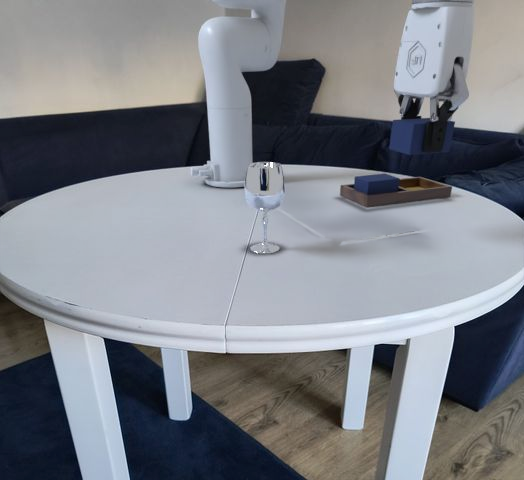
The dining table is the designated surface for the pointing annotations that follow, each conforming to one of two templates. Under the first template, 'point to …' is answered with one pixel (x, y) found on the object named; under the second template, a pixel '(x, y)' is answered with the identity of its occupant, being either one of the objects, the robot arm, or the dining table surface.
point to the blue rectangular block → (415, 136)
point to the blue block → (376, 184)
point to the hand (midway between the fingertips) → (419, 147)
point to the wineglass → (264, 195)
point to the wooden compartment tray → (399, 192)
